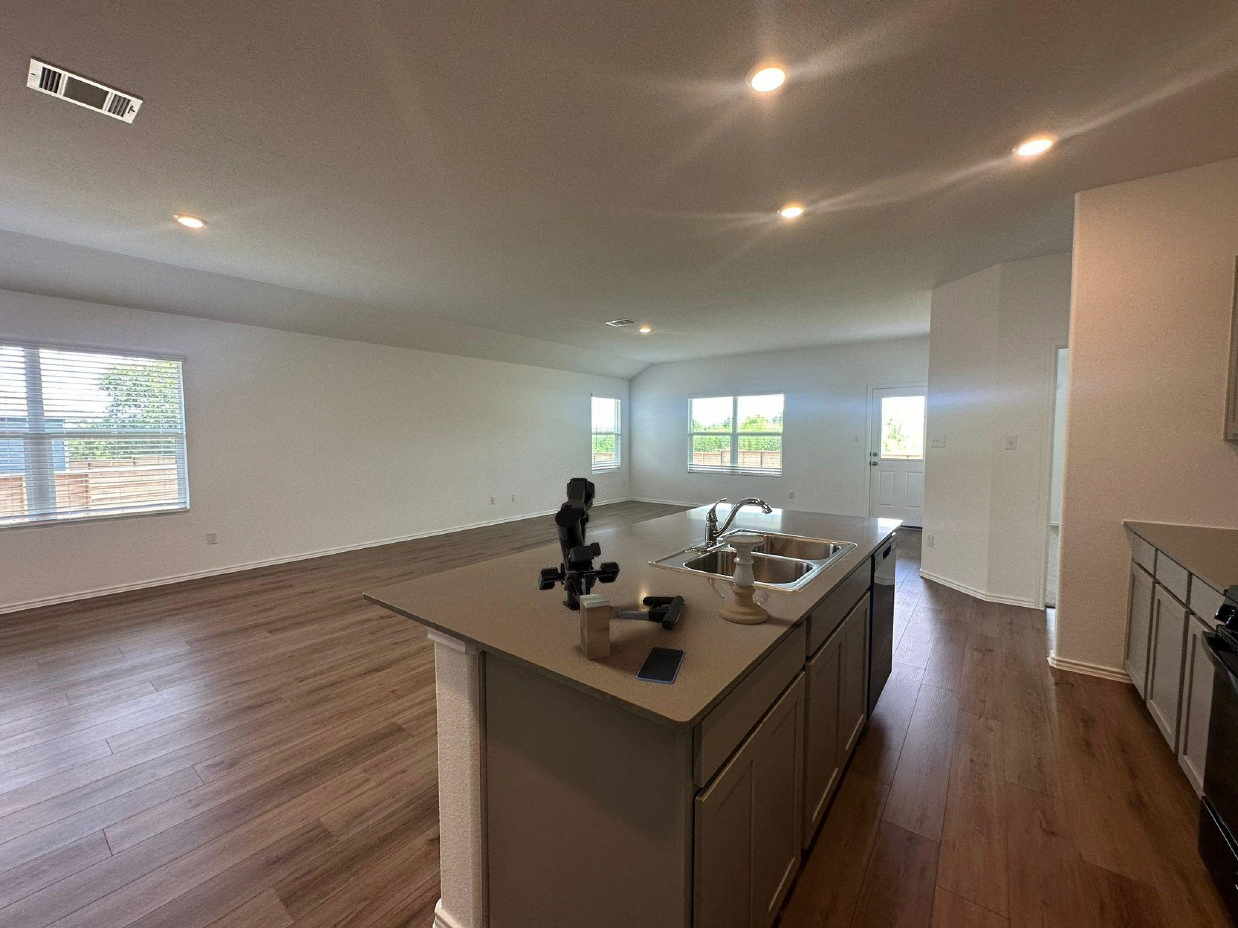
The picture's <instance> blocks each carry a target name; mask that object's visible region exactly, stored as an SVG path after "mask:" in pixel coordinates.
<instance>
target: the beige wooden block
mask: <svg viewBox="0 0 1238 928" xmlns="http://www.w3.org/2000/svg"><path fill="white" fill-rule="evenodd" d="M579 612H580V613H579V614H580V615H579V616H580V617H579V619H580V622H579V624H580V629H579V630H580V651H581V652H582V655H584V657H585V658H586V660H592V659H593V660H594V659H598V658H599V659H600V658H605V657H611V643H610V642H611V640H610V639H611V637H610V636H611V635H610V631H611V627H610V599H609V598H608V597H606V595H605V594H604V593H602V592H601V593H593V594H592V593H590V595H583V596H580V608H579Z"/></svg>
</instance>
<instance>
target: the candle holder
mask: <svg viewBox="0 0 1238 928" xmlns="http://www.w3.org/2000/svg"><path fill="white" fill-rule="evenodd" d="M722 540H723V541H722V542H723V543H725V544H726V545H730V546H733V549H734V550H735V551H736V557H735V558H734V559H733V562H734V563H735V569H734V573H733V576H732V581H733V583H734V586H732V588H731V590H732V592H733V594H734V598H733V600H732V601H728V602H726V604H724V605H722V606H720V607H719V611H718V613H719V616H720V617H721V618H722V619H723V620H726V621H729V622H732V623H736V624H742V625H754V624H760V623H764V622H765V621H767V620H768V618H769V612H768V610H767V609H766V608H764V607H763V606H761V605H760V604H759V603H757V602H754V597H753V595H754V594H755V593H756V588H755V587H754V586H753V585H754V583H755V582H756V580H755V579H756V578H755V576H754V572H753V568H752V564H754V562H755V561H754V559H753V558H752V556H751V555H752V551H754V550H755V547H760V546H763V545H764V544H765V543H766V540H765V538H763V537H761V536H758V535H752V534H729V535H726V536H724V537H723V538H722ZM763 621H764V622H763Z"/></svg>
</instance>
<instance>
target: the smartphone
mask: <svg viewBox="0 0 1238 928" xmlns="http://www.w3.org/2000/svg"><path fill="white" fill-rule="evenodd" d="M685 653H686V652H685V651H684V650H682V649H675V648H666V647H658V646H657V647H652V648H650V651H649V653H648V655H647V656H646V658H645V660H644V661H643V663H642V665H641V667H640V669H639V670H638V672H637V673H636V675H635V676H636V678H635V679H637V680H639V681H641V682H642V681H643V682H651V683H657V684H665V685H670V684H673V683H674V682H675V679H676V677H677V675H678V671H679V670H680V667H681V664H682V662H683V659H684V657H685Z"/></svg>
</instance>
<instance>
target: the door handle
mask: <svg viewBox="0 0 1238 928" xmlns="http://www.w3.org/2000/svg"><path fill="white" fill-rule="evenodd" d="M642 604H643V605H644V606H647V607H648V606H649V607H650V608H649V609H648V610H619V612H618V617H619V618H620V619H628V620H629V619H630V620H632V619H633V620H640V621H642V620H643V621H644V620H645V621H648V622H653V623H654V622H655V623H661V626H662V628H663V629H664V630H666V631H670V630H671V629H673V628H674V627H675V625H678V620H679V618H680V615H681V613H682V608H683V606H684V605H687V603H686V604H685V599H684V597H683V596H682V595H679V594H678V595H675V596H653V595H652V596H651V595H649V596H644V597H643V599H642Z"/></svg>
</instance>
